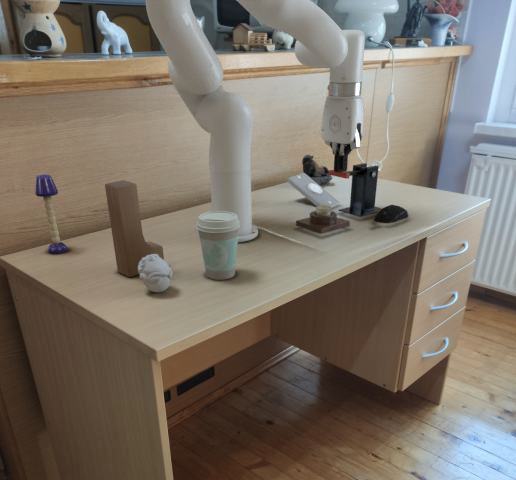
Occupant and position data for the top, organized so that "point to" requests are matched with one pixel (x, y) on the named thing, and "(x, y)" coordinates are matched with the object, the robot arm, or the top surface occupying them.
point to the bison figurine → (315, 170)
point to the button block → (322, 223)
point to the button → (323, 210)
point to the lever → (348, 173)
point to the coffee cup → (219, 243)
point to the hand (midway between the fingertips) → (340, 171)
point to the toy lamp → (50, 210)
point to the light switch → (312, 190)
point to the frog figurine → (155, 273)
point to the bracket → (363, 192)
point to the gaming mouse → (391, 214)
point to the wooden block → (128, 227)
